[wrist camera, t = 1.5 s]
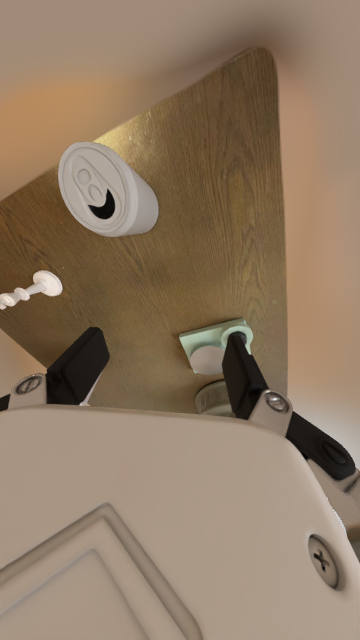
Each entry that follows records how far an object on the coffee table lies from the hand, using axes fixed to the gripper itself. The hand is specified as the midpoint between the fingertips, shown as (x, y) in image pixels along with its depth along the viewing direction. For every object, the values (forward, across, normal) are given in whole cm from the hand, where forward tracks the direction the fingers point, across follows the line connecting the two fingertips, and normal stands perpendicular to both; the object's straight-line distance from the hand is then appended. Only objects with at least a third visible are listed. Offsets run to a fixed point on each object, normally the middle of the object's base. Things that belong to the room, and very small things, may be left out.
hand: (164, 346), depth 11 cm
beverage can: (+19, +6, -10) cm, 22 cm away
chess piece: (+19, +25, +2) cm, 32 cm away
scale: (+19, -9, +16) cm, 26 cm away
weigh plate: (+16, -8, +18) cm, 25 cm away
